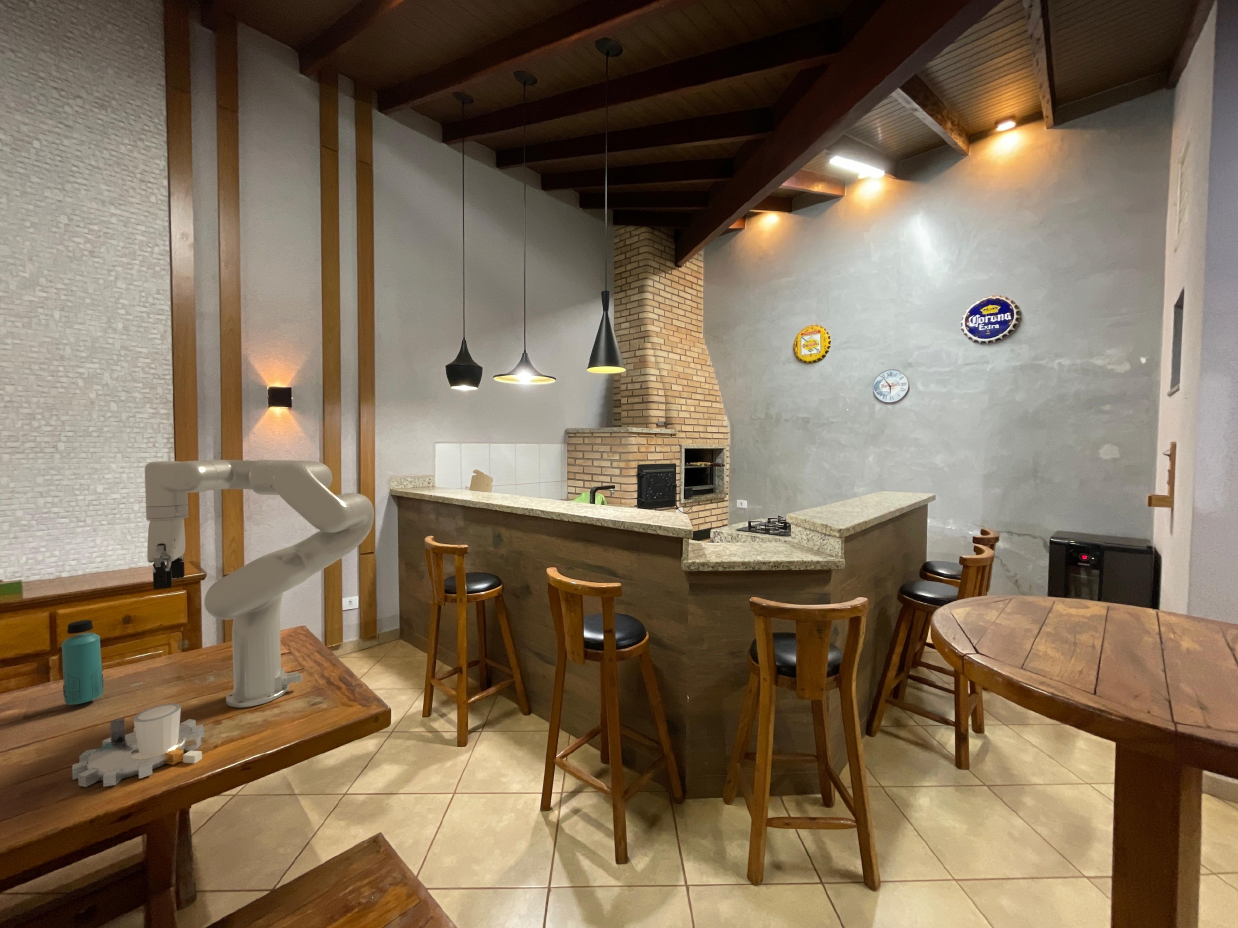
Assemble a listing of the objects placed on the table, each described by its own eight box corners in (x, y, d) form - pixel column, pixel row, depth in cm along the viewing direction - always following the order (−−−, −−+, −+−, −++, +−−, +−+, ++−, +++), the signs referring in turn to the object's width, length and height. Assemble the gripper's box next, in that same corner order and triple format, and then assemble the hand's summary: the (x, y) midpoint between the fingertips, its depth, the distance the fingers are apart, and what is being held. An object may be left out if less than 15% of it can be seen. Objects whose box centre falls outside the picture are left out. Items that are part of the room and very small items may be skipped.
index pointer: (183, 762, 96) (182, 754, 96) (190, 757, 98) (190, 750, 98) (194, 763, 96) (194, 755, 96) (202, 758, 98) (201, 751, 98)
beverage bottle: (110, 699, 120) (107, 618, 119) (73, 713, 114) (69, 627, 113) (94, 695, 122) (91, 615, 121) (56, 708, 116) (52, 624, 115)
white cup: (153, 759, 93) (152, 723, 93) (124, 755, 94) (123, 719, 94) (191, 738, 100) (190, 704, 100) (163, 734, 101) (162, 701, 101)
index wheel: (226, 734, 105) (225, 706, 105) (120, 794, 87) (118, 761, 87) (160, 722, 109) (159, 696, 109) (45, 777, 91) (44, 746, 91)
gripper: (159, 509, 125) (161, 576, 126) (132, 518, 110) (135, 594, 110) (197, 507, 129) (199, 572, 129) (176, 516, 113) (178, 590, 114)
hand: (169, 582), depth 120 cm, fingers open, 9 cm apart
